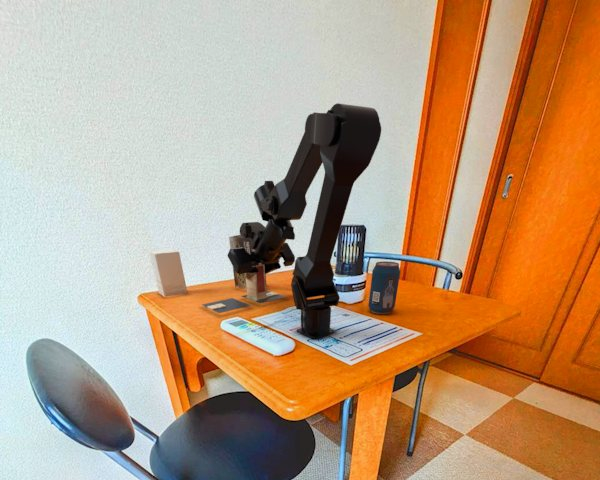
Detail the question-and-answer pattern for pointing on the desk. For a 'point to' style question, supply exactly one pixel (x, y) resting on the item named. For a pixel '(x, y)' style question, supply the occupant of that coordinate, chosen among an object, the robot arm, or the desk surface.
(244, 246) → the coffee box
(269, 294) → the grey flat square block
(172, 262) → the white packaging box
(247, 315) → the desk surface
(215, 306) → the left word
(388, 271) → the soda can
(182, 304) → the desk surface
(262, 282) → the beige and red box
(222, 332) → the desk surface
